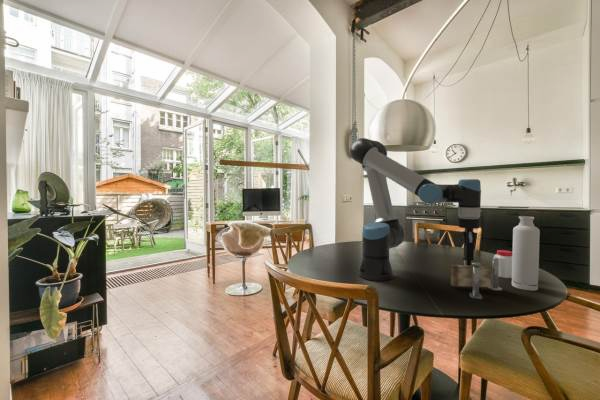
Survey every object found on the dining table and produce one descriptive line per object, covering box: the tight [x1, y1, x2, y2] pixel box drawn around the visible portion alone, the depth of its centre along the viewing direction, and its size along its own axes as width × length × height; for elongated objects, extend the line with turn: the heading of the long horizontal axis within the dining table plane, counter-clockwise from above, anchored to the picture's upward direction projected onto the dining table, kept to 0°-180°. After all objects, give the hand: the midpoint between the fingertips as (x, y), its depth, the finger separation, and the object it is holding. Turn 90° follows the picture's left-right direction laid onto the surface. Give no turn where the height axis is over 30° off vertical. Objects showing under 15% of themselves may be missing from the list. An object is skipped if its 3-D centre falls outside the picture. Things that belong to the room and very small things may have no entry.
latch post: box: [468, 261, 483, 300], centre depth 98 cm, size 4×4×12 cm
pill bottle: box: [493, 249, 512, 279], centre depth 122 cm, size 8×8×11 cm
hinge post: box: [487, 257, 503, 292], centre depth 105 cm, size 4×4×12 cm
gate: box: [450, 264, 492, 288], centre depth 106 cm, size 15×2×8 cm, turn 85°
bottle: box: [511, 215, 541, 292], centre depth 107 cm, size 8×8×28 cm
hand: (468, 275), depth 109 cm, fingers closed
